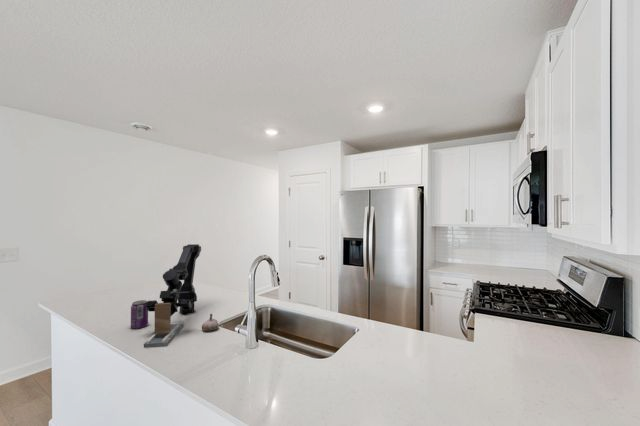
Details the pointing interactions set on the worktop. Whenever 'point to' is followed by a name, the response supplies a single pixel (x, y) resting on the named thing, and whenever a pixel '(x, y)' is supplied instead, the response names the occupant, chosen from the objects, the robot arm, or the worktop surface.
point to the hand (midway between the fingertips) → (163, 323)
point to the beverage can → (139, 314)
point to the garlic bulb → (210, 324)
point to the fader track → (165, 341)
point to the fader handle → (162, 319)
